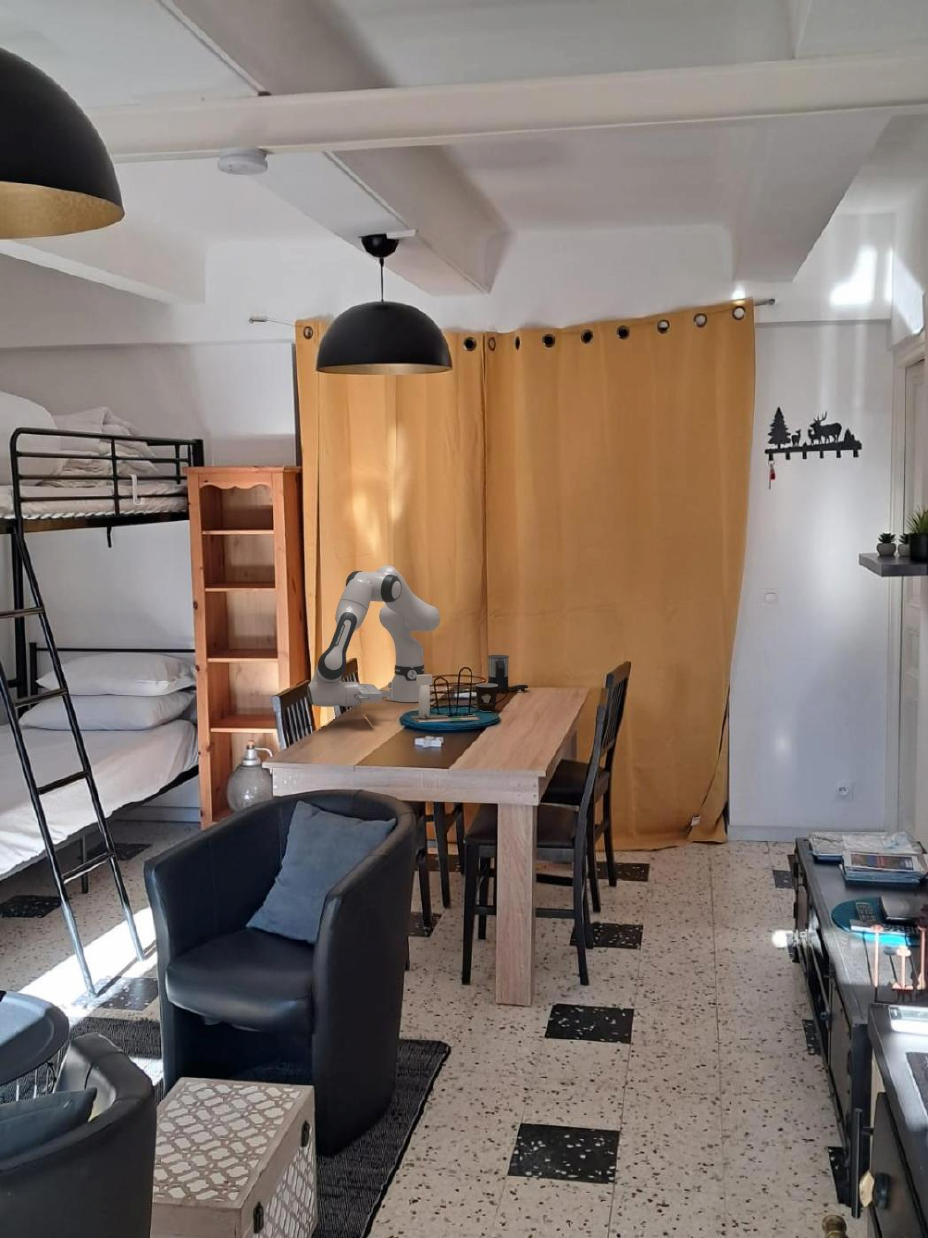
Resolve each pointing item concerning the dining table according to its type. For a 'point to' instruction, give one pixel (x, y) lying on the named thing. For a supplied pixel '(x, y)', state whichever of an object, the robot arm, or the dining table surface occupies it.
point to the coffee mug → (487, 696)
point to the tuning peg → (424, 694)
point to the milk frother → (500, 673)
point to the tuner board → (445, 718)
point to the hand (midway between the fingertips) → (390, 693)
